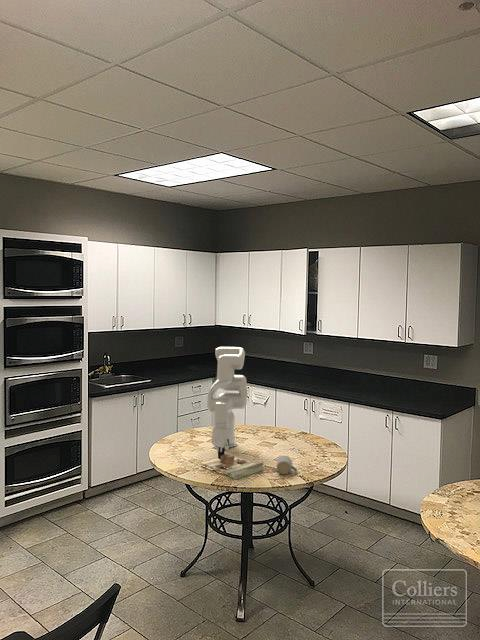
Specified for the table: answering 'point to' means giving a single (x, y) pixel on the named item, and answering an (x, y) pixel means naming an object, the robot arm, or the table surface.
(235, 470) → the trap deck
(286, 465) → the ceramic mug
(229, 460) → the walnut block
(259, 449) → the table surface
